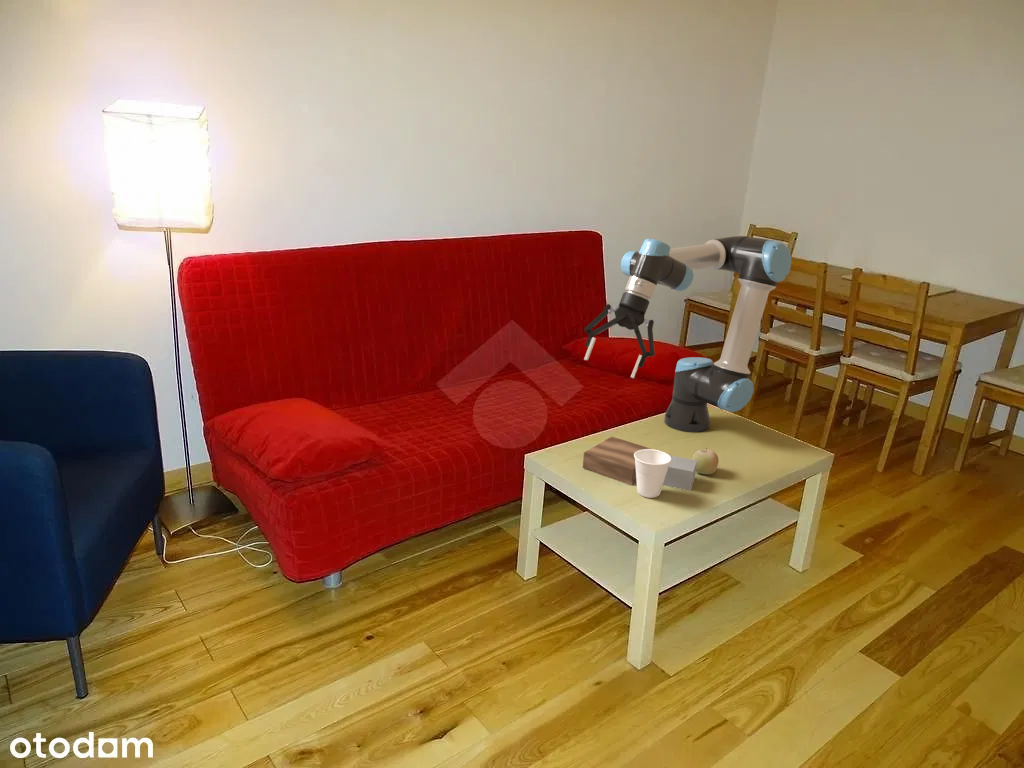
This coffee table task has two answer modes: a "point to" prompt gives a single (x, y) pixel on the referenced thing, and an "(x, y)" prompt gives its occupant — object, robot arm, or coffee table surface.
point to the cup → (650, 471)
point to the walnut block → (613, 459)
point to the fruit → (706, 461)
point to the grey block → (680, 473)
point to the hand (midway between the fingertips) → (608, 368)
